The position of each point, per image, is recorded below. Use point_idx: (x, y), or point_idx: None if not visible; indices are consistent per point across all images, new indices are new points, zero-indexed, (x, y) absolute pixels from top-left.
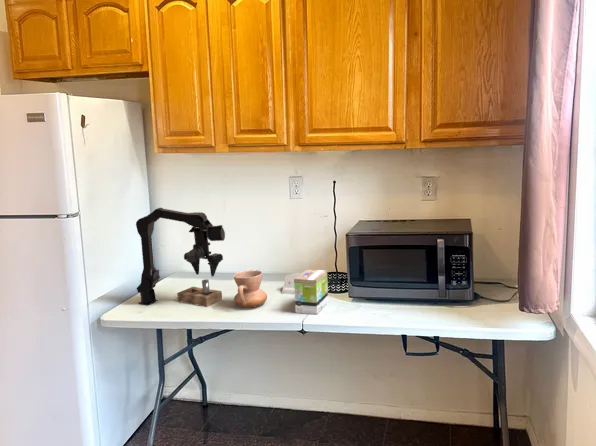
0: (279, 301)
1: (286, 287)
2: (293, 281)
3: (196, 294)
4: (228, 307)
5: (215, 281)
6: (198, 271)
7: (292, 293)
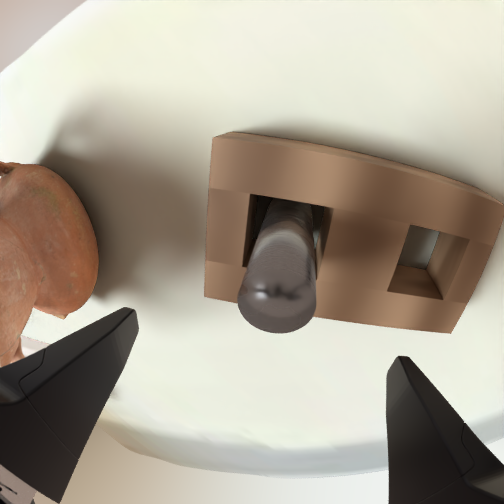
0: None
1: None
2: None
3: (353, 192)
4: (105, 163)
5: None
6: (391, 402)
7: (47, 345)
